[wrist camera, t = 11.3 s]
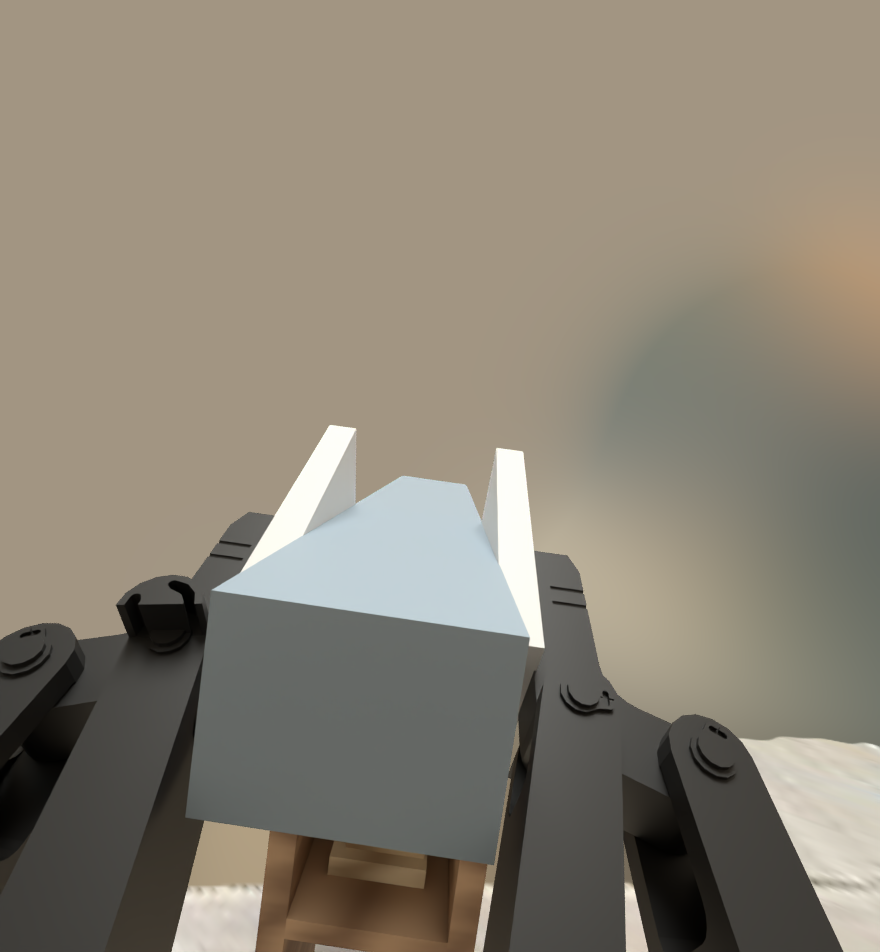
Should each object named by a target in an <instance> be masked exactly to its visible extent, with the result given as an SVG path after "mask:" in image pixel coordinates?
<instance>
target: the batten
mask: <svg viewBox="0 0 880 952" xmlns="http://www.w3.org/2000/svg"><path fill="white" fill-rule="evenodd" d="M529 641H530V636H529V634H528V631H527V629H526V626H525V624H524V622H523V619H522V617H521V615H520V612H519V610H518V607H517V605H516V603H515V600H514V598H513V595H512V593H511V591H510V588H509V586H508V583H507V581H506V579H505V576H504V574H503V572H502V569H501V567H500V565H499V564H498V562H497V559H496V557H495V554H494V552H493V550H492V547H491V545H490V542H489V540H488V537H487V535H486V532H485V530H484V527H483V525H482V521H481V519H480V517H479V514H478V512H477V510H476V507H475V505H474V502H473V500H472V498H471V495H470V493H469V490H468V488H467V486H466V485H464V484H457V483H450V482H443V481H436V480H429V479H422V478H415V477H408V476H401V477H400V478H398V479H396V480H395V481H393V482H391V483H390V484H388V485H386V486H385V487H383V488H381V489H380V490H378V491H376V492H375V493H373V494H371V495H370V496H368V497H366V498H365V499H363V500H361V501H360V502H358V503H356V504H355V505H353V506H352V507H350V508H348V509H347V510H345V511H343V512H342V513H340V514H338V515H336V516H335V517H333V518H331V519H330V520H328V521H326V522H325V523H323V524H321V525H320V526H318V527H316V528H315V529H313V530H311V531H310V532H308V533H306V534H305V535H303V536H301V537H299V538H298V539H296V540H294V541H293V542H291V543H289V544H288V545H286V546H284V547H283V548H281V549H279V550H278V551H276V552H274V553H273V554H271V555H269V556H268V557H266V558H264V559H263V560H261V561H259V562H258V563H256V564H254V565H253V566H251V567H249V568H248V569H246V570H244V571H242V572H241V573H239V574H237V575H236V576H234V577H232V578H231V579H229V580H227V581H226V582H224V583H222V584H221V585H219V586H217V587H216V588H214V589H212V590H211V597H210V606H209V615H208V623H207V632H206V641H205V650H204V658H203V667H202V676H201V684H200V693H199V702H198V710H197V719H196V728H195V737H194V745H193V754H192V763H191V771H190V780H189V789H188V797H187V806H186V815H185V818H192V819H198V820H206V821H212V822H218V823H224V824H231V825H237V826H244V827H250V828H257V829H263V830H270V831H276V832H282V833H289V834H295V835H302V836H308V837H315V838H321V839H328V840H334V841H341V842H347V843H354V844H360V845H367V846H373V847H380V848H386V849H392V850H399V851H405V852H412V853H418V854H425V855H431V856H438V857H444V858H451V859H457V860H464V861H470V862H477V863H483V864H490V865H494V861H495V855H496V849H497V843H498V836H499V830H500V823H501V817H502V811H503V805H504V798H505V792H506V786H507V780H508V773H509V767H510V760H511V754H512V748H513V742H514V736H515V729H516V723H517V717H518V710H519V704H520V698H521V691H522V685H523V679H524V673H525V666H526V660H527V654H528V647H529Z"/></svg>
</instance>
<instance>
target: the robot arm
mask: <svg viewBox="0 0 880 952" xmlns="http://www.w3.org/2000/svg"><path fill="white" fill-rule="evenodd" d="M355 487H356V429H355V428H347V427H341V426H333V425H330V426H329V427H328V429H327V431H326V432H325V434H324V436H323V437H322V439H321V441H320V442H319V444H318V446H317V447H316V449H315V451H314V452H313V454H312V455H311V457H310V459H309V460H308V462H307V464H306V465H305V467H304V469H303V470H302V472H301V474H300V475H299V477H298V479H297V480H296V482H295V483H294V485H293V487H292V489H291V490H290V492H289V493H288V495H287V497H286V498H285V500H284V502H283V503H282V505H281V507H280V508H279V510H278V512H277V513H276V515H275V516H273V515H266V514H259V513H252V512H248V513H247V514H245V515H244V516H242V517H241V518H240V519H238V520H237V521H235V522H234V523H233V524H231V525H230V526H229V528H228V529H227V531H226V532H225V533H224V535H223V536H222V537H221V539H220V542H219V544H217V545H216V546H215V547H214V549H213V550H212V552H211V553H210V556H209V557H207V558H206V560H205V561H204V563H203V564H202V565H201V567H200V568H199V570H198V571H197V572H196V574H195V575H194V577H193V578H192V579H190V578H189V577H185V576H178V575H169V576H161V577H156V578H153V579H151V580H148V581H145V582H142V583H140V584H139V585H137V586H135V587H134V588H133V589H131V590H130V591H128V592H127V593H125V595H124V596H123V597H122V599H120V601H119V602H118V603H117V605H116V606H117V609H118V611H119V614H120V616H121V619H122V621H123V624H124V626H125V629H126V631H127V633H125V634H120V635H114V636H106V637H98V638H91V639H83V640H77V639H76V637H75V635H74V634H73V632H72V630H71V629H70V628H68V627H66V626H63V625H61V624H56V623H54V624H53V623H52V624H51V623H49V624H48V623H42V624H38V625H34V626H30V627H26V628H23V629H21V630H18V631H16V632H14V633H12V634H10V635H8V636H6V637H4V638H3V639H2V640H0V952H171V951H172V947H173V943H174V939H175V935H176V931H177V927H178V923H179V919H180V915H181V911H182V907H183V903H184V899H185V895H186V891H187V887H188V883H189V879H190V875H191V870H192V867H193V863H194V859H195V855H196V851H197V847H198V843H199V839H200V834H201V831H202V827H203V823H204V820H198V819H192V818H185V815H186V806H187V797H188V789H189V780H190V771H191V763H192V754H193V745H194V737H195V728H196V719H197V710H198V702H199V693H200V684H201V676H202V667H203V658H204V650H205V641H206V632H207V623H208V615H209V606H210V597H211V590H212V589H214V588H216V587H217V586H219V585H221V584H222V583H224V582H226V581H227V580H229V579H231V578H232V577H234V576H236V575H237V574H239V573H241V572H242V571H244V570H246V569H248V568H249V567H251V566H253V565H254V564H256V563H258V562H259V561H261V560H263V559H264V558H266V557H268V556H269V555H271V554H273V553H274V552H276V551H278V550H279V549H281V548H283V547H284V546H286V545H288V544H289V543H291V542H293V541H294V540H296V539H298V538H299V537H301V536H303V535H305V534H306V533H308V532H310V531H311V530H313V529H315V528H316V527H318V526H320V525H321V524H323V523H325V522H326V521H328V520H330V519H331V518H333V517H335V516H336V515H338V514H340V513H342V512H343V511H345V510H347V509H348V508H350V507H352V506H353V505H355V499H356V498H355V496H356V495H355V494H356V488H355ZM482 525H483V527H484V530H485V532H486V535H487V537H488V540H489V542H490V545H491V547H492V550H493V552H494V554H495V557H496V559H497V562H498V564H499V565H500V567H501V569H502V572H503V574H504V576H505V579H506V581H507V583H508V586H509V588H510V591H511V593H512V595H513V598H514V600H515V603H516V605H517V607H518V610H519V612H520V615H521V617H522V619H523V622H524V624H525V626H526V629H527V631H528V634H529V636H530V641H529V647H528V654H527V660H526V666H525V673H524V679H523V685H522V691H521V698H520V704H519V710H518V717H517V723H518V721H519V742H520V745H519V748H518V751H517V753H516V755H515V758H514V761H513V763H512V766H511V768H510V771H509V774H508V778H510V779H511V783H510V789H509V795H508V801H507V807H506V814H505V820H504V826H503V832H502V838H501V844H500V851H499V857H498V863H497V870H496V875H495V881H494V888H493V894H492V900H491V906H490V912H489V918H488V925H487V931H486V937H485V943H484V949H483V952H626V935H625V890H624V846H623V845H624V844H625V849H626V853H627V858H628V862H629V867H630V871H631V876H632V880H633V885H634V889H635V893H636V898H637V902H638V907H639V911H640V916H641V920H642V924H643V929H644V933H645V938H646V942H647V947H648V951H649V952H843V950H842V948H841V946H840V943H839V941H838V939H837V937H836V935H835V933H834V931H833V929H832V926H831V924H830V922H829V920H828V918H827V916H826V914H825V912H824V909H823V907H822V905H821V903H820V901H819V899H818V897H817V895H816V892H815V890H814V888H813V886H812V884H811V882H810V880H809V878H808V875H807V873H806V871H805V869H804V867H803V865H802V863H801V861H800V858H799V856H798V854H797V852H796V850H795V848H794V846H793V844H792V841H791V839H790V837H789V835H788V833H787V831H786V829H785V827H784V824H783V822H782V820H781V818H780V816H779V814H778V812H777V810H776V807H775V805H774V803H773V801H772V799H771V797H770V795H769V793H768V790H767V788H766V786H765V784H764V782H763V780H762V778H761V776H760V773H759V771H758V769H757V767H756V765H755V763H754V761H753V759H752V757H751V756H750V754H749V752H748V751H747V749H746V748H745V746H744V745H743V743H742V742H741V741H740V740H739V739H738V738H737V737H736V736H735V735H734V734H733V733H732V732H731V731H730V730H729V729H727V728H726V727H724V726H722V725H721V724H719V723H717V722H716V721H714V720H713V719H710V718H706V717H703V716H700V715H696V714H695V715H685V716H681V717H680V718H679V719H677V720H676V721H675V722H673V723H672V724H671V723H669V722H667V721H664V720H662V719H660V718H658V717H655V716H653V715H651V714H649V713H647V712H644V711H642V710H640V709H638V708H636V707H634V706H633V705H631V704H629V703H627V702H626V701H625V700H624V699H622V698H621V697H620V696H618V695H617V693H616V691H615V690H614V688H613V687H612V685H611V684H610V682H609V681H608V680H607V679H606V678H605V677H604V676H603V675H602V672H601V669H600V666H599V662H598V657H597V653H596V648H595V643H594V639H593V634H592V629H591V625H590V620H589V616H588V611H587V609H586V601H585V597H584V594H583V587H582V583H581V578H580V573H579V572H578V570H577V569H576V567H575V566H574V564H573V563H572V562H571V560H570V559H569V557H568V556H567V555H559V554H552V553H545V552H538V551H534V547H533V538H532V528H531V519H530V510H529V501H528V492H527V483H526V474H525V465H524V456H523V452H522V451H515V450H508V449H500V448H496V453H495V458H494V463H493V468H492V473H491V478H490V483H489V488H488V493H487V498H486V503H485V508H484V513H483V518H482ZM517 723H516V725H517ZM623 840H624V844H623Z"/></svg>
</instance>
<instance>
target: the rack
mask: <svg viewBox="0 0 880 952" xmlns="http://www.w3.org/2000/svg"><path fill="white" fill-rule="evenodd" d="M486 870H487V864H483V863H477V862H470V861H464V860H457V859H451V858H444V857H438V856H431V855H425V854H418V853H412V852H405V851H399V850H392V849H386V848H380V847H373V846H367V845H360V844H354V843H347V842H341V841H334V840H328V839H321V838H315V837H308V836H302V835H295V834H289V833H282V832H276V831H270V835H269V843H268V852H267V860H266V868H265V877H264V885H263V893H262V901H261V909H260V918H259V926H258V934H257V942H256V951H255V952H314V950H315V944H321V945H327V946H334V947H340V948H347V949H353V950H360V951H367V952H474V948H475V942H476V935H477V929H478V922H479V916H480V909H481V903H482V896H483V890H484V883H485V877H486Z"/></svg>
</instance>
